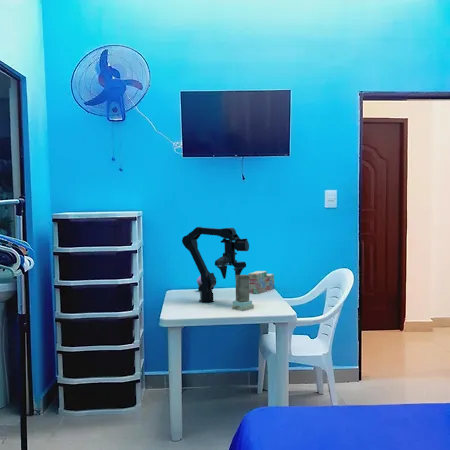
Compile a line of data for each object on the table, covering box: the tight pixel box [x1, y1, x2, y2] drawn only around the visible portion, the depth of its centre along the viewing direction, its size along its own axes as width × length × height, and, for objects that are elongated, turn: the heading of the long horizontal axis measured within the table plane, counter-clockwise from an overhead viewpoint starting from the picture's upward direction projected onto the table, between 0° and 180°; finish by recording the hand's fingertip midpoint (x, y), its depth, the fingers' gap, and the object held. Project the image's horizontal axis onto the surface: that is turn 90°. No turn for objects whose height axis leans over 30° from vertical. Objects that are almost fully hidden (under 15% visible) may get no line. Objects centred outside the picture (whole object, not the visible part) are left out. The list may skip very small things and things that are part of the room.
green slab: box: [232, 299, 253, 307], centre depth 238 cm, size 7×7×2 cm
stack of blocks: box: [248, 270, 275, 295], centre depth 285 cm, size 21×6×12 cm, turn 146°
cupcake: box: [196, 275, 202, 287], centre depth 288 cm, size 9×9×10 cm
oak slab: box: [231, 303, 255, 312], centre depth 238 cm, size 8×8×2 cm
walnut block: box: [234, 274, 250, 301], centre depth 238 cm, size 5×5×13 cm
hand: (230, 279), depth 250 cm, fingers open, 9 cm apart
